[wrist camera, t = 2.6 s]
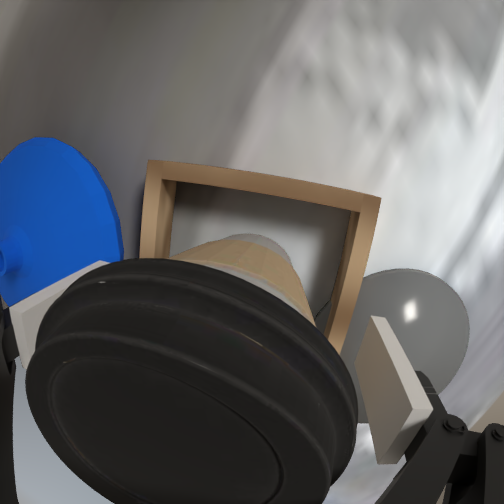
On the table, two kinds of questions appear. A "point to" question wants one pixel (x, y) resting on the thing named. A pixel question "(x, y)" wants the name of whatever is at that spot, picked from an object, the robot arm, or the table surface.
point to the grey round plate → (408, 324)
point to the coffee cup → (194, 380)
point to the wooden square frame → (361, 205)
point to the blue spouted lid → (52, 217)
